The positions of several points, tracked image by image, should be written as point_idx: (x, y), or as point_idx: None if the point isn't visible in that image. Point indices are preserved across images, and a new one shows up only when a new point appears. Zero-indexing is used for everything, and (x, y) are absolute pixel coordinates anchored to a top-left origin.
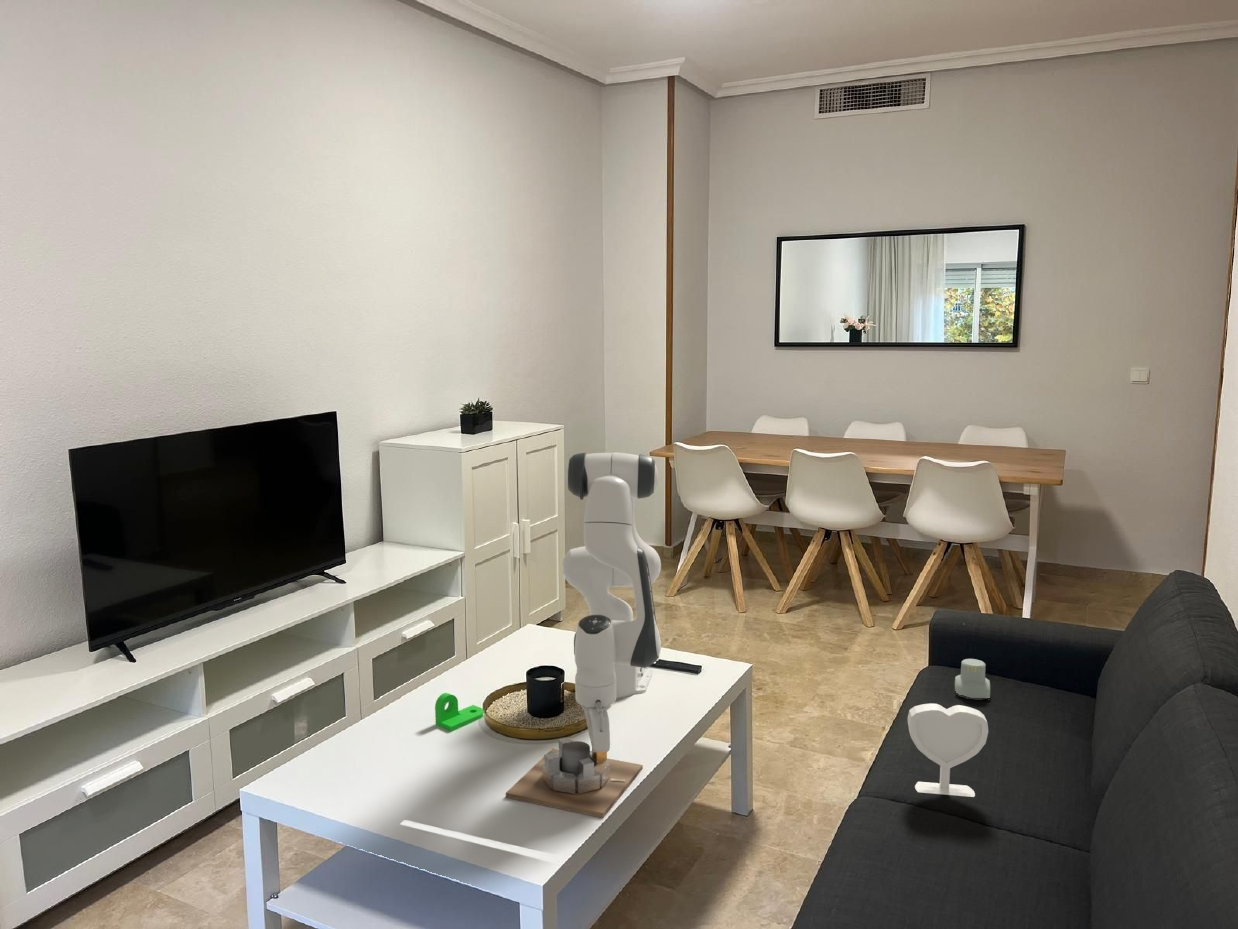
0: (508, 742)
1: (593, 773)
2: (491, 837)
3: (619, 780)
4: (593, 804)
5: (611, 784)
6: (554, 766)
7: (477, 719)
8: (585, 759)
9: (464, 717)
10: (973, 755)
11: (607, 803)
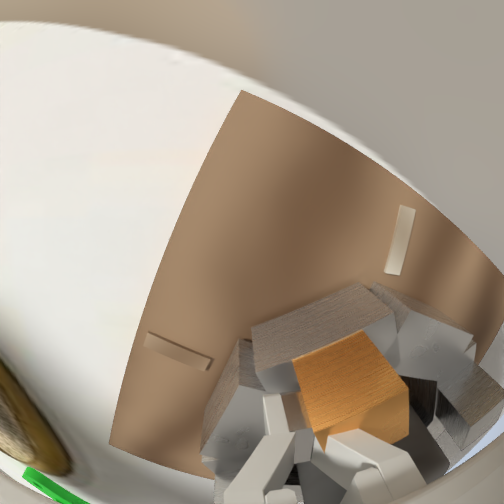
0: (95, 478)
1: (480, 369)
2: (456, 446)
3: (408, 234)
4: (489, 323)
5: (419, 271)
6: None
7: (49, 484)
8: (472, 434)
9: (61, 499)
10: None
11: (498, 283)
